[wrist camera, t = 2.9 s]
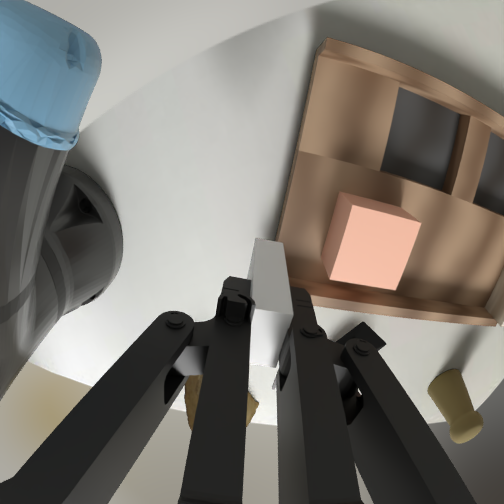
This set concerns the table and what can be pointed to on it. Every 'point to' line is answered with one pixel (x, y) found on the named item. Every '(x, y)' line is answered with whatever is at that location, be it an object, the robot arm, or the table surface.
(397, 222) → the block
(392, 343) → the table surface
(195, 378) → the rock
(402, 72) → the box
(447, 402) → the cork
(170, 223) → the table surface
